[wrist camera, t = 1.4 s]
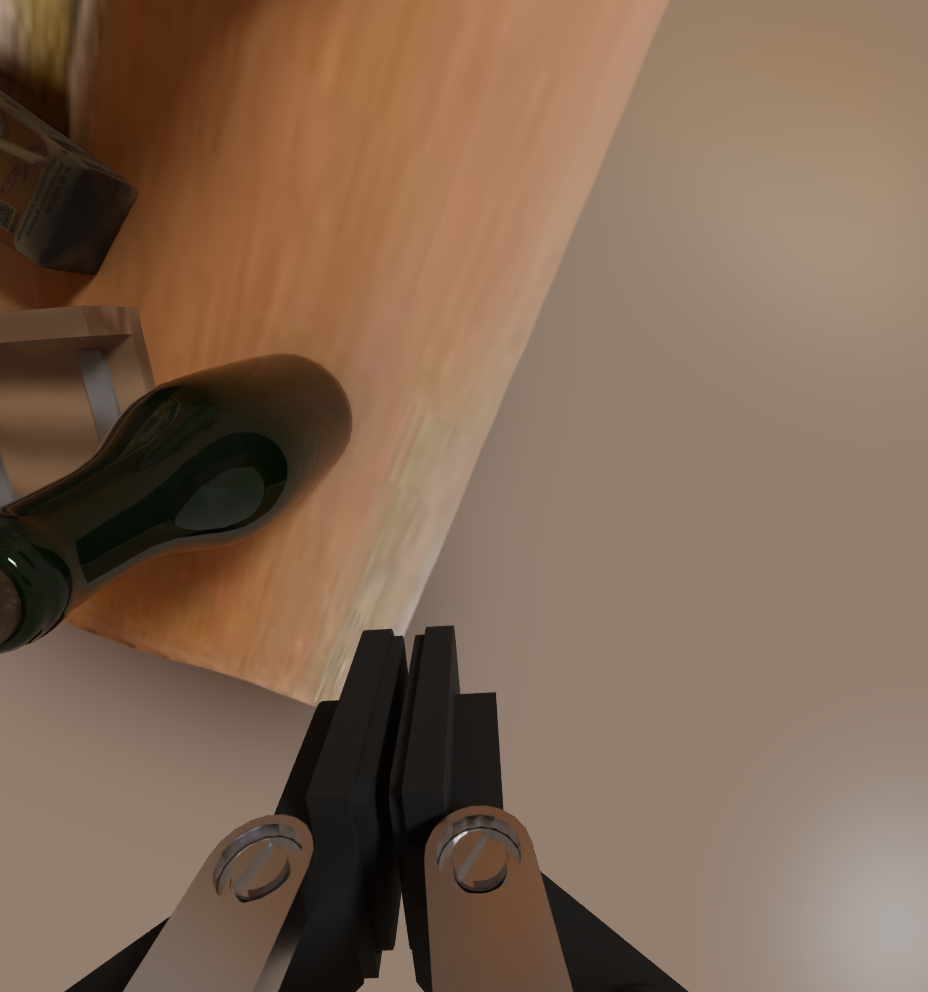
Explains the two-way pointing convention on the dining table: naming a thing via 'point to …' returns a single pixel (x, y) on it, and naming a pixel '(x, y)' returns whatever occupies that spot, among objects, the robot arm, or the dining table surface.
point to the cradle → (64, 388)
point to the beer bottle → (171, 484)
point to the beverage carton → (55, 195)
